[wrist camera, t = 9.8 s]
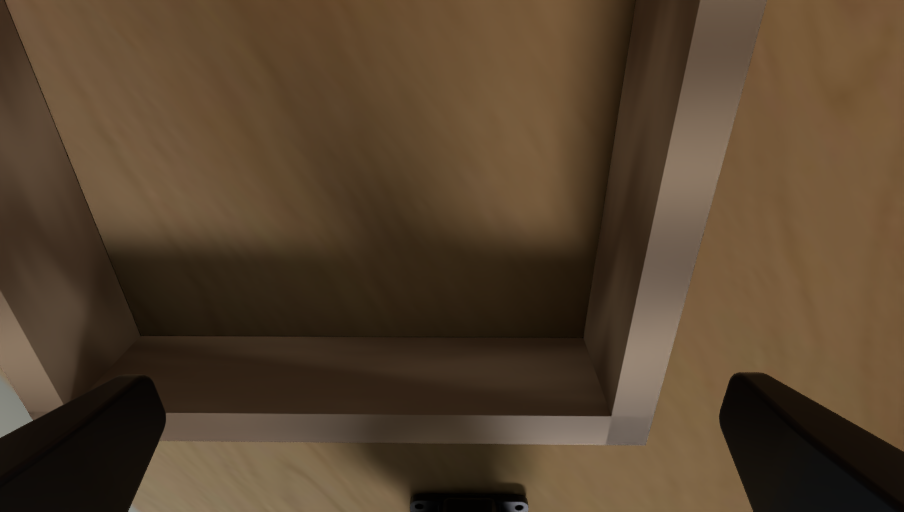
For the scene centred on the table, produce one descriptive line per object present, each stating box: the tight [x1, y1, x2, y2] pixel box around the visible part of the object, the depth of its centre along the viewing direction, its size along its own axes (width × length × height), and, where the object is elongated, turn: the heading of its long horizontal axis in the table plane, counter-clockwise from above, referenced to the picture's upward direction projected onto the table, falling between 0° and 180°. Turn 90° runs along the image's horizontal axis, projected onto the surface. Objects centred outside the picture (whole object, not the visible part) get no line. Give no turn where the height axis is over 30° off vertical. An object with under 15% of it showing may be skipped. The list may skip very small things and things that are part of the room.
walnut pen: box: [0, 0, 767, 445], centre depth 16 cm, size 16×23×4 cm
